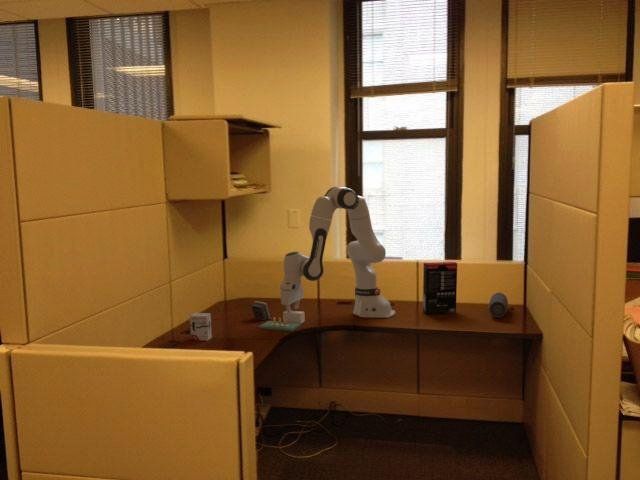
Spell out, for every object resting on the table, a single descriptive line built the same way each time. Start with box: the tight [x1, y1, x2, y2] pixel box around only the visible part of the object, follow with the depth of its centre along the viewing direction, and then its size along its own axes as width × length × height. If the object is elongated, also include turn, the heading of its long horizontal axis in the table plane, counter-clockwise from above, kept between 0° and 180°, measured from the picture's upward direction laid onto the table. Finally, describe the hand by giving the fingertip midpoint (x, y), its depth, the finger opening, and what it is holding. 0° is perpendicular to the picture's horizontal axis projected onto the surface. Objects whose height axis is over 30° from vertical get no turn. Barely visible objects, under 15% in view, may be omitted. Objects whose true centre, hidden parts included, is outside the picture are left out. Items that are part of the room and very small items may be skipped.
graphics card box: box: [422, 261, 458, 315], centre depth 305 cm, size 17×7×27 cm, turn 98°
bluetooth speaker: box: [488, 292, 509, 318], centre depth 300 cm, size 23×9×10 cm, turn 161°
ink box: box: [189, 312, 213, 342], centre depth 267 cm, size 8×5×12 cm, turn 81°
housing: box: [282, 310, 306, 324], centre depth 295 cm, size 10×5×5 cm, turn 67°
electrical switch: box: [251, 300, 271, 321], centre depth 302 cm, size 9×5×9 cm, turn 47°
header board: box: [258, 316, 302, 332], centre depth 284 cm, size 18×10×5 cm, turn 67°
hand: (292, 310), depth 294 cm, fingers open, 8 cm apart
